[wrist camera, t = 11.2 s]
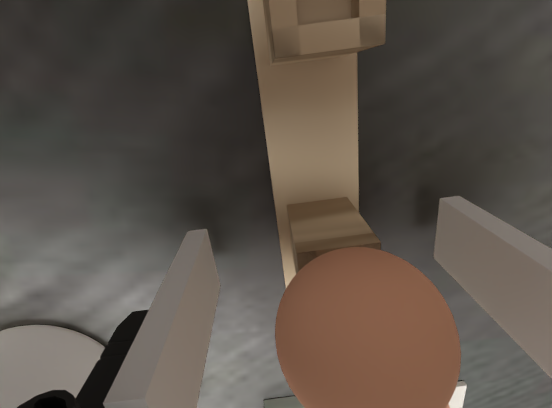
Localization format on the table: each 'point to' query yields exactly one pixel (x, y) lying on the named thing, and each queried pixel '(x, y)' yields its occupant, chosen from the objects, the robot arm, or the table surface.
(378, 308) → the ball
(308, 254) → the rack
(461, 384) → the card
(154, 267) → the table surface
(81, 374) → the mug
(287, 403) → the grey-green tall hollow box
